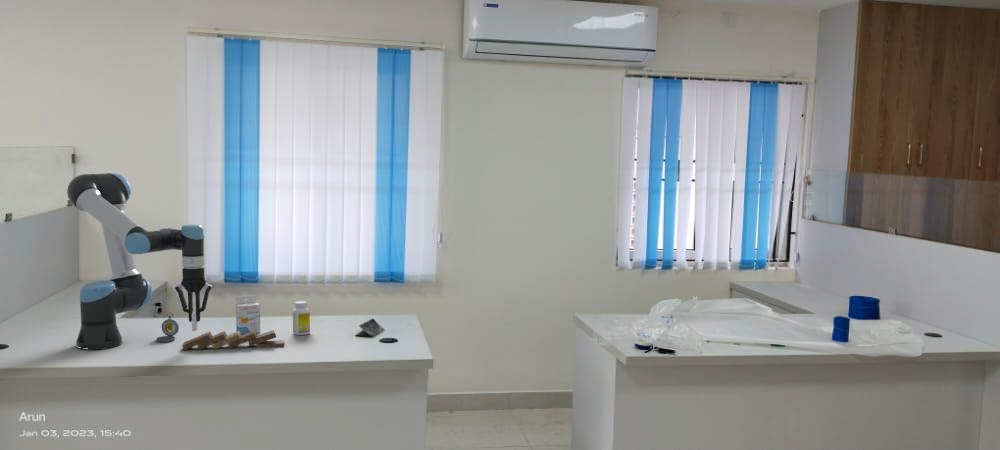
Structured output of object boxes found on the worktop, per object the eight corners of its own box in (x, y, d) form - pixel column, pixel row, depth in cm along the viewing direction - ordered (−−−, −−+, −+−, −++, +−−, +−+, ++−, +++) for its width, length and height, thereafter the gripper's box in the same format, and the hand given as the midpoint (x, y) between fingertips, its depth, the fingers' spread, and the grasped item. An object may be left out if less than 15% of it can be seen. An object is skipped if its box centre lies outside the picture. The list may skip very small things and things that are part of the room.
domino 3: (227, 343, 292) (253, 333, 294) (228, 340, 297) (254, 329, 299) (230, 348, 292) (256, 337, 295) (230, 345, 297) (256, 334, 299)
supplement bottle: (313, 332, 319) (313, 301, 318) (302, 336, 313) (302, 304, 312) (300, 331, 322) (299, 300, 320) (289, 334, 316) (289, 302, 314)
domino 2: (197, 345, 290) (223, 334, 291) (199, 341, 295) (224, 330, 296) (199, 350, 290) (225, 338, 292) (201, 346, 295) (227, 335, 297)
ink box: (239, 335, 313) (238, 298, 312) (236, 332, 318) (235, 296, 316) (260, 332, 318) (260, 296, 317) (257, 330, 322) (256, 294, 321)
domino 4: (248, 341, 294) (274, 332, 297) (247, 338, 298) (273, 329, 301) (249, 346, 294) (276, 337, 297) (249, 343, 299) (275, 334, 302)
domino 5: (256, 344, 294) (283, 343, 296) (257, 341, 299) (284, 340, 301) (256, 349, 294) (284, 348, 297) (257, 346, 299) (284, 345, 301)
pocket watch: (157, 343, 299) (156, 317, 298) (155, 338, 306) (154, 313, 305) (180, 341, 302) (179, 315, 301) (178, 336, 310) (177, 311, 309)
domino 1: (181, 345, 289) (208, 334, 290) (184, 342, 293) (210, 331, 295) (184, 350, 289) (210, 339, 291) (186, 347, 294) (212, 336, 295)
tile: (211, 344, 291) (238, 333, 292) (213, 341, 295) (239, 330, 297) (214, 349, 291) (240, 338, 293) (215, 346, 296) (241, 335, 298)
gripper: (172, 269, 284) (174, 333, 286) (210, 268, 287) (211, 332, 289) (176, 265, 291) (178, 328, 294) (213, 265, 294) (214, 327, 296)
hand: (194, 330), depth 291 cm, fingers closed
